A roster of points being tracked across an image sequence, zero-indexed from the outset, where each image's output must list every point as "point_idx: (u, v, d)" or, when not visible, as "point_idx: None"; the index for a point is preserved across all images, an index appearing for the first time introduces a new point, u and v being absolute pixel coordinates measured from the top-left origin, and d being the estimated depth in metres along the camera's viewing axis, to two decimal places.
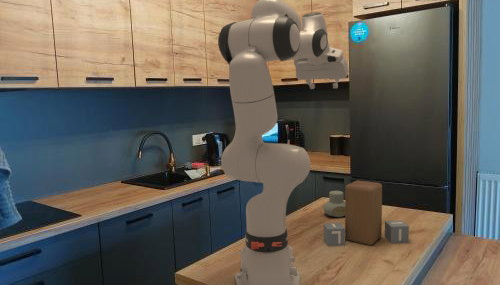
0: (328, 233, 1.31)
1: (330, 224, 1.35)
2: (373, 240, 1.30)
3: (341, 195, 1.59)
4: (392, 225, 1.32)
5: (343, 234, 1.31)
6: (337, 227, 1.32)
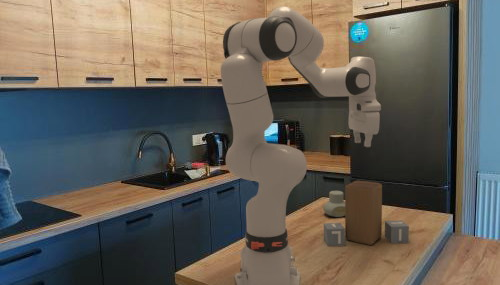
0: (328, 233, 1.31)
1: (330, 224, 1.35)
2: (373, 240, 1.30)
3: (341, 195, 1.59)
4: (392, 225, 1.32)
5: (343, 234, 1.31)
6: (337, 227, 1.32)
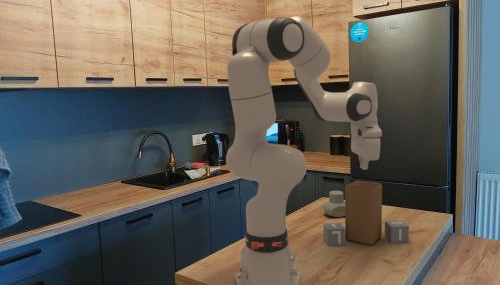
0: (328, 233, 1.31)
1: (330, 224, 1.35)
2: (373, 240, 1.30)
3: (341, 195, 1.59)
4: (392, 225, 1.32)
5: (343, 234, 1.31)
6: (337, 227, 1.32)
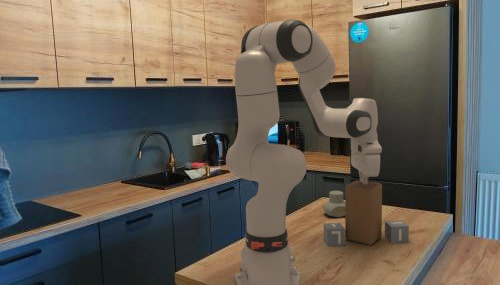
0: (328, 233, 1.31)
1: (330, 224, 1.35)
2: (373, 240, 1.30)
3: (341, 195, 1.59)
4: (392, 225, 1.32)
5: (343, 234, 1.31)
6: (337, 227, 1.32)
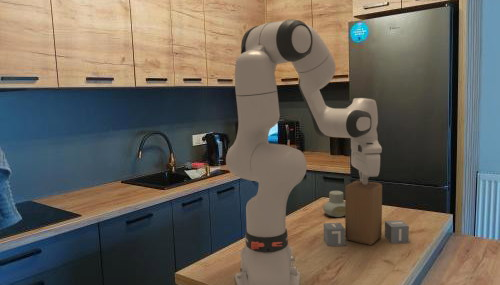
0: (328, 233, 1.31)
1: (330, 224, 1.35)
2: (373, 240, 1.30)
3: (341, 195, 1.59)
4: (392, 225, 1.32)
5: (343, 234, 1.31)
6: (337, 227, 1.32)
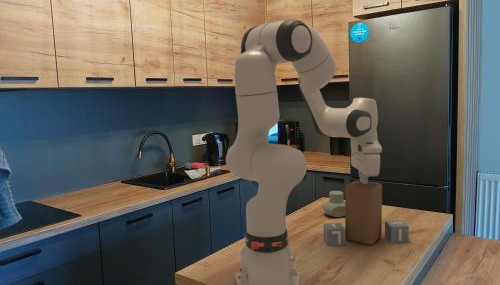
0: (328, 233, 1.31)
1: (330, 224, 1.35)
2: (373, 240, 1.30)
3: (341, 195, 1.59)
4: (392, 225, 1.32)
5: (343, 234, 1.31)
6: (337, 227, 1.32)
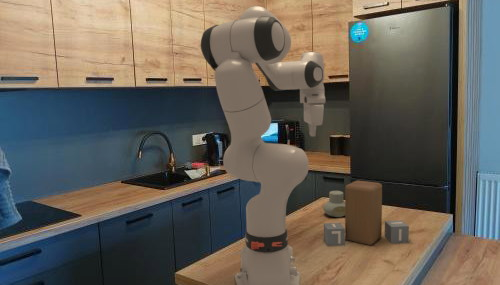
0: (328, 233, 1.31)
1: (330, 224, 1.35)
2: (373, 240, 1.30)
3: (341, 195, 1.59)
4: (392, 225, 1.32)
5: (343, 234, 1.31)
6: (337, 227, 1.32)
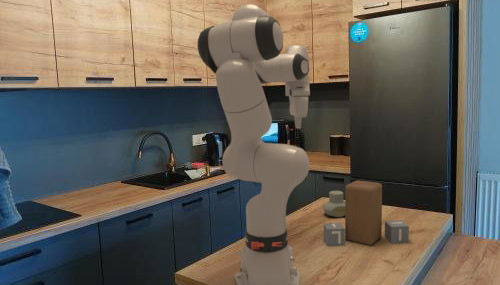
0: (328, 233, 1.31)
1: (330, 224, 1.35)
2: (373, 240, 1.30)
3: (341, 195, 1.59)
4: (392, 225, 1.32)
5: (343, 234, 1.31)
6: (337, 227, 1.32)
